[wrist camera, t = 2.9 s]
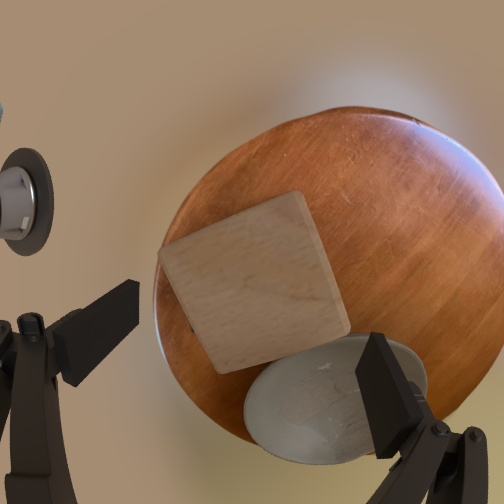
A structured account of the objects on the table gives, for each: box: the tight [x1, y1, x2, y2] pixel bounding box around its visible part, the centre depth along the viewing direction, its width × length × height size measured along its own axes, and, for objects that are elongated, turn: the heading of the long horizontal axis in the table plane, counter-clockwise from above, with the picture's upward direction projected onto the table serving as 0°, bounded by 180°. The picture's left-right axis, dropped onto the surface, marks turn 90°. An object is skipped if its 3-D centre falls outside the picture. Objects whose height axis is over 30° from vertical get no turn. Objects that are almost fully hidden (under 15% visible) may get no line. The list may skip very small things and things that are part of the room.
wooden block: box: [158, 190, 351, 374], centre depth 27 cm, size 10×10×20 cm
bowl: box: [244, 333, 427, 465], centre depth 37 cm, size 27×28×8 cm
